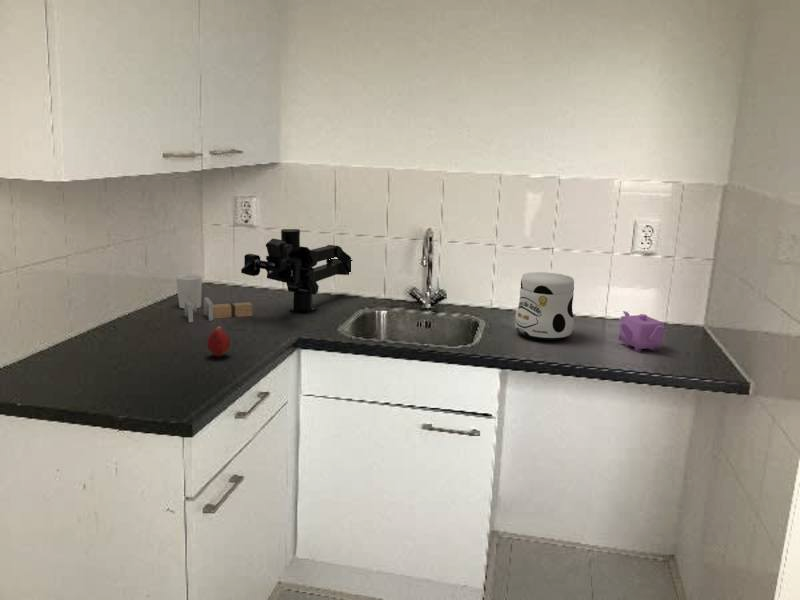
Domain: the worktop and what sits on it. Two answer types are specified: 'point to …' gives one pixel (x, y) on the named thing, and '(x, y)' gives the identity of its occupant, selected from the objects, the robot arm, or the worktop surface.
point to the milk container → (545, 306)
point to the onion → (218, 342)
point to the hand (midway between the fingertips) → (254, 273)
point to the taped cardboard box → (232, 310)
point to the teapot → (641, 332)
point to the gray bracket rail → (189, 308)
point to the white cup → (189, 289)
